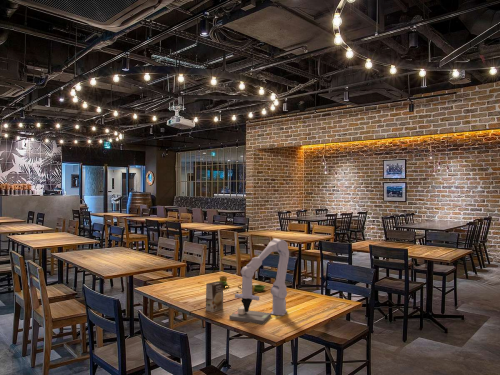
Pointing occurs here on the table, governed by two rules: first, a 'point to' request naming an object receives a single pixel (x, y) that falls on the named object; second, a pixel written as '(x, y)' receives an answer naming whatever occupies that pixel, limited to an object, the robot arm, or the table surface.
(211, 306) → the coffee box
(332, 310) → the table surface
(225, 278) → the tableware set
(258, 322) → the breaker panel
